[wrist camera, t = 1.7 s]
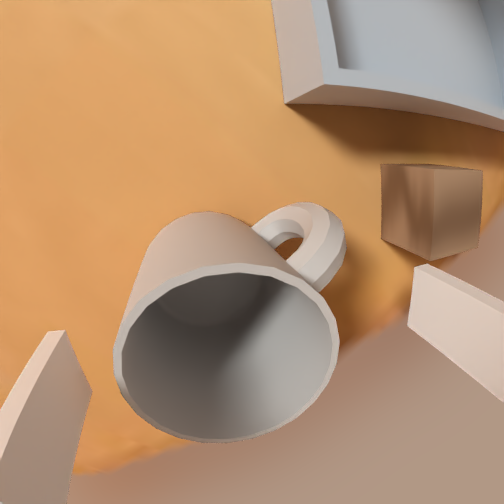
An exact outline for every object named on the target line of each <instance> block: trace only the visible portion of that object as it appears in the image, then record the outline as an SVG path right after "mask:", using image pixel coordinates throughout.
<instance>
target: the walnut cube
mask: <svg viewBox="0 0 504 504" xmlns="http://www.w3.org/2000/svg"><path fill="white" fill-rule="evenodd" d="M482 184H483V171H482V170H475V169H468V168H460V167H452V166H444V165H435V164H381V194H382V220H381V239H383V240H385V241H387V242H390V243H392V244H394V245H396V246H399V247H401V248H403V249H405V250H407V251H409V252H412V253H414V254H416V255H418V256H420V257H422V258H424V259H426V260H429V261H433V260H437V259H440V258H444V257H448V256H451V255H455V254H458V253H462V252H465V251H469V250H472V249H476V248H478V242H479V233H480V223H481V209H482Z"/></svg>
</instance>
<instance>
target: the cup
mask: <svg viewBox="0 0 504 504" xmlns="http://www.w3.org/2000/svg"><path fill="white" fill-rule="evenodd" d="M298 237H301V238H304V239H303V242H302V244H301V245H300V247H299V248H298V249H297V250H296V251H295V252H294V253H293V254H292V255H291V256H290V257H289V258H288V259H287V260H284V259H283V258H282V257H281V256H280V255H279V254H278V253H277V252H276V251H275V250H274V249H275V248H276V247H278V246H279V245H280V244H281V243H283V242H284V241H286V240H287V239H291V238H298ZM346 249H347V246H346V239H345V233H344V229H343V226H342V222H341V220H340V219H339V218H338V217H337V216H336V215H335V214H334V213H333V212H331V211H329V210H327V209H326V208H324V207H322V206H320V205H317V204H314V203H312V202H298V203H294V204H290V205H286V206H284V207H282V208H280V209H278V210H276V211H273V212H271V213H269V214H268V215H267V216H265V217H264V218H262V219H261V220H260V221H259V222H257V223H256V224H255V225H254V226H253V227H252V228H251V227H249V226H248V225H247V224H245V223H244V222H242V221H240V220H238V219H236V218H234V217H232V216H230V215H228V214H223V213H217V212H211V211H207V212H197V213H191V214H188V215H185V216H183V217H180V218H177V219H175V220H174V221H172V222H171V223H170V224H168V225H167V226H165V227H164V228H163V229H161V231H160V232H159V233H158V234H157V236H156V237H155V238H154V239H153V241H152V242H151V243H150V245H149V246H148V249H147V251H146V254H145V256H144V259H143V261H142V264H141V266H140V269H139V272H138V275H137V277H136V280H135V283H134V286H133V289H132V291H131V294H130V297H129V300H128V303H127V306H126V309H125V312H124V315H123V318H122V321H121V325H120V328H119V331H118V334H117V338H116V341H115V344H114V348H113V366H114V376H115V378H116V381H117V384H118V386H119V389H120V391H121V394H122V396H123V397H124V399H125V400H126V401H127V403H128V404H129V405H130V406H131V408H132V409H133V410H134V411H135V412H136V414H137V415H139V416H140V417H141V418H143V419H144V420H145V421H147V422H148V423H149V424H151V425H152V426H154V427H155V428H156V429H159V430H161V431H163V432H166V433H168V434H170V435H173V436H175V437H178V438H181V439H186V440H191V441H196V442H201V443H230V442H237V441H243V440H248V439H253V438H256V437H258V436H261V435H264V434H267V433H270V432H272V431H275V430H277V429H278V428H280V427H282V426H284V425H285V424H287V423H289V422H291V421H292V420H294V419H296V418H297V417H298V416H299V415H300V414H301V413H303V412H304V411H305V410H306V409H307V408H308V407H310V406H311V405H312V404H313V403H314V402H315V400H316V399H317V398H318V397H319V395H320V394H321V393H322V391H323V390H324V389H325V387H326V386H327V385H328V383H329V380H330V378H331V376H332V374H333V371H334V369H335V367H336V364H337V358H338V351H339V344H340V340H339V334H338V329H337V323H336V319H335V317H334V315H333V313H332V312H331V310H330V308H329V306H328V305H327V303H326V301H325V299H324V298H323V297H322V296H321V295H320V294H319V292H320V291H321V290H322V289H323V288H324V287H325V286H326V285H327V284H328V283H329V282H330V281H331V280H332V278H333V277H334V275H335V274H336V273H337V271H338V270H339V268H340V267H341V266H342V263H343V260H344V256H345V252H346Z"/></svg>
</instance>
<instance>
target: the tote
mask: <svg viewBox="0 0 504 504" xmlns="http://www.w3.org/2000/svg"><path fill="white" fill-rule="evenodd" d="M271 3H272V9H273V16H274V23H275V30H276V38H277V45H278V53H279V61H280V69H281V78H282V87H283V96H284V104H327V105H347V106H361V107H372V108H382V109H391V110H399V111H407V112H414V113H420V114H426V115H432V116H438V117H443V118H448V119H453V120H458V121H462V122H467V123H471V124H475V125H479V126H483V127H487V128H491V129H495V130H498V131H502V132H504V0H271Z"/></svg>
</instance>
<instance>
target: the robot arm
mask: <svg viewBox="0 0 504 504" xmlns="http://www.w3.org/2000/svg"><path fill="white" fill-rule="evenodd" d="M407 326H408V327H409V328H410V329H412V330H413V331H414V332H416V333H417V334H418V335H420V336H421V337H422V338H424V339H425V340H426V341H427V342H429V343H430V344H431V345H432V346H434V347H435V348H436V349H438V350H439V351H440V352H441V353H443V354H444V355H445V356H446V357H448V358H449V359H450V360H452V361H453V362H454V363H455V364H457V365H458V366H459V367H460V368H462V369H463V370H464V371H465V372H467V373H468V374H469V375H470V376H471V377H473V378H474V379H475V380H476V381H478V382H479V383H480V384H481V385H482V386H484V387H485V388H486V389H487V390H489V391H490V392H491V393H492V394H493V395H495V396H496V397H497V398H498V399H499V400H501V401H502V402H503V403H504V302H503V301H501V300H499V299H498V298H495V297H494V296H491V295H490V294H488V293H486V292H484V291H482V290H480V289H478V288H476V287H474V286H472V285H470V284H468V283H466V282H464V281H462V280H460V279H458V278H456V277H454V276H452V275H450V274H448V273H446V272H444V271H442V270H440V269H438V268H436V267H433V266H431V265H429V264H424V265H420V266H416V267H414V277H413V287H412V295H411V303H410V310H409V317H408V324H407ZM91 395H92V389H91V387H90V385H89V383H88V381H87V379H86V377H85V375H84V373H83V371H82V369H81V366H80V364H79V362H78V360H77V357H76V355H75V353H74V350H73V348H72V346H71V343H70V341H69V338H68V336H67V333H66V330H60V331H49V332H47V334H46V335H45V337H44V338H43V340H42V341H41V343H40V344H39V346H38V347H37V349H36V350H35V352H34V353H33V355H32V357H31V358H30V360H29V361H28V363H27V364H26V366H25V368H24V369H23V371H22V373H21V374H20V376H19V378H18V379H17V381H16V383H15V385H14V386H13V388H12V390H11V391H10V393H9V395H8V397H7V399H6V400H5V402H4V404H3V406H2V408H1V410H0V504H67V498H68V492H69V486H70V481H71V476H72V471H73V466H74V461H75V457H76V452H77V448H78V443H79V439H80V435H81V431H82V427H83V423H84V420H85V416H86V412H87V409H88V405H89V402H90V398H91Z"/></svg>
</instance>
